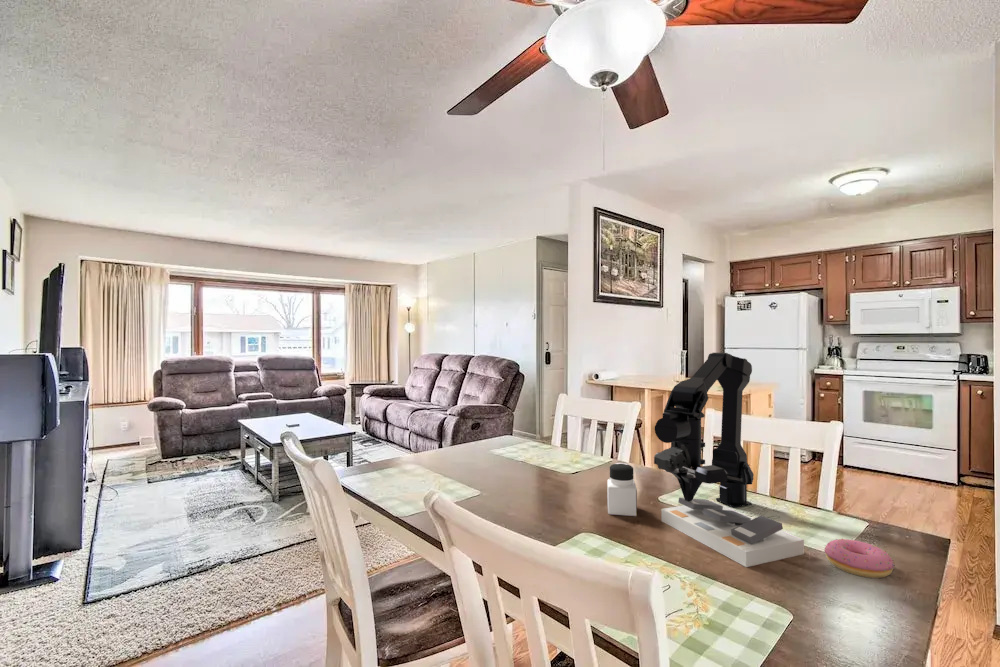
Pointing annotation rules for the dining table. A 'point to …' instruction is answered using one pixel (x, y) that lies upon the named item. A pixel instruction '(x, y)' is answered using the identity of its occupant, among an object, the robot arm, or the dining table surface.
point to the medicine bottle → (621, 490)
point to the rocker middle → (726, 516)
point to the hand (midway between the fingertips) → (688, 502)
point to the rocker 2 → (756, 529)
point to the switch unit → (731, 537)
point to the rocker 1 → (700, 504)
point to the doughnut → (859, 558)
